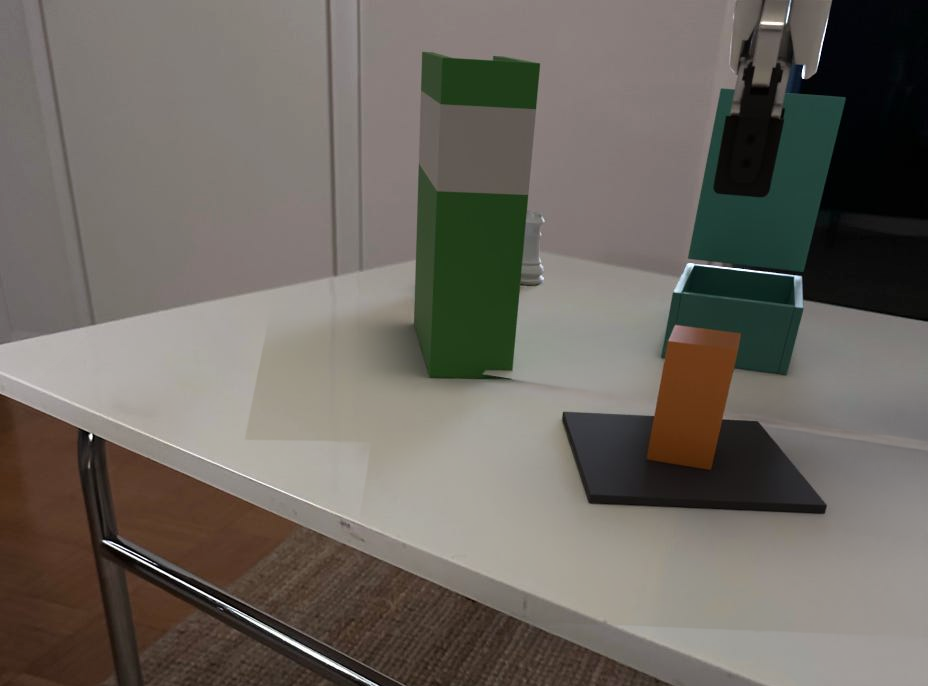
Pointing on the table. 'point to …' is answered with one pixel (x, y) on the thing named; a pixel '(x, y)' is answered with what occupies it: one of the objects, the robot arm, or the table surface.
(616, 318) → the table surface
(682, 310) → the lunchbox
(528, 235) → the rook chess piece
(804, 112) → the lunchbox lid
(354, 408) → the table surface
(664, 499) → the mat
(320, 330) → the table surface
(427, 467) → the table surface
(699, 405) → the carton
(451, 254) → the green and white box
